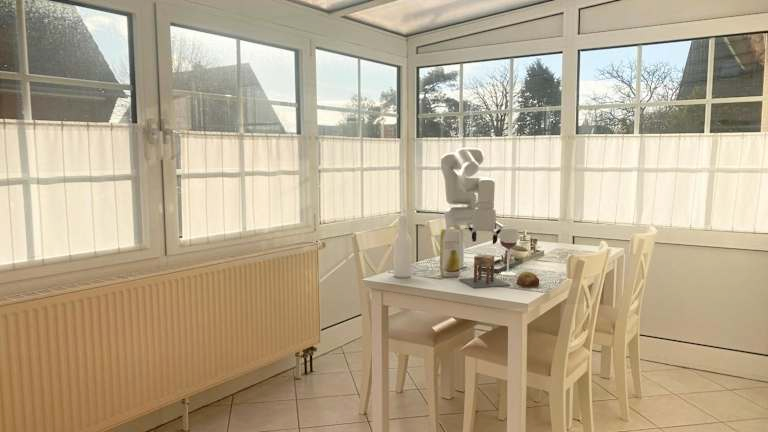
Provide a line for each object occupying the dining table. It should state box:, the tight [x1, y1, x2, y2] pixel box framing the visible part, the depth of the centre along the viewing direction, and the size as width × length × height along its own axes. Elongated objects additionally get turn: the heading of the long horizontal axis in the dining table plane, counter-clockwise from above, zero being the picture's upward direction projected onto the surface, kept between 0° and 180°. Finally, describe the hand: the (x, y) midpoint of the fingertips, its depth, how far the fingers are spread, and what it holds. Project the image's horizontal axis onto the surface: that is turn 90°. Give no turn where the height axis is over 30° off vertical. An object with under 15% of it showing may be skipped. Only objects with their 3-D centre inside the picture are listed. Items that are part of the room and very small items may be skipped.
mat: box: [458, 277, 511, 289], centre depth 263 cm, size 17×18×1 cm
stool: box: [473, 253, 495, 284], centre depth 262 cm, size 7×7×12 cm
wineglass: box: [498, 228, 520, 276], centre depth 283 cm, size 9×10×22 cm
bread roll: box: [516, 271, 540, 288], centre depth 259 cm, size 10×10×8 cm
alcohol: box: [393, 214, 413, 279], centre depth 275 cm, size 9×9×30 cm
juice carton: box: [439, 227, 462, 278], centre depth 277 cm, size 9×8×24 cm
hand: (484, 242), depth 261 cm, fingers open, 9 cm apart
